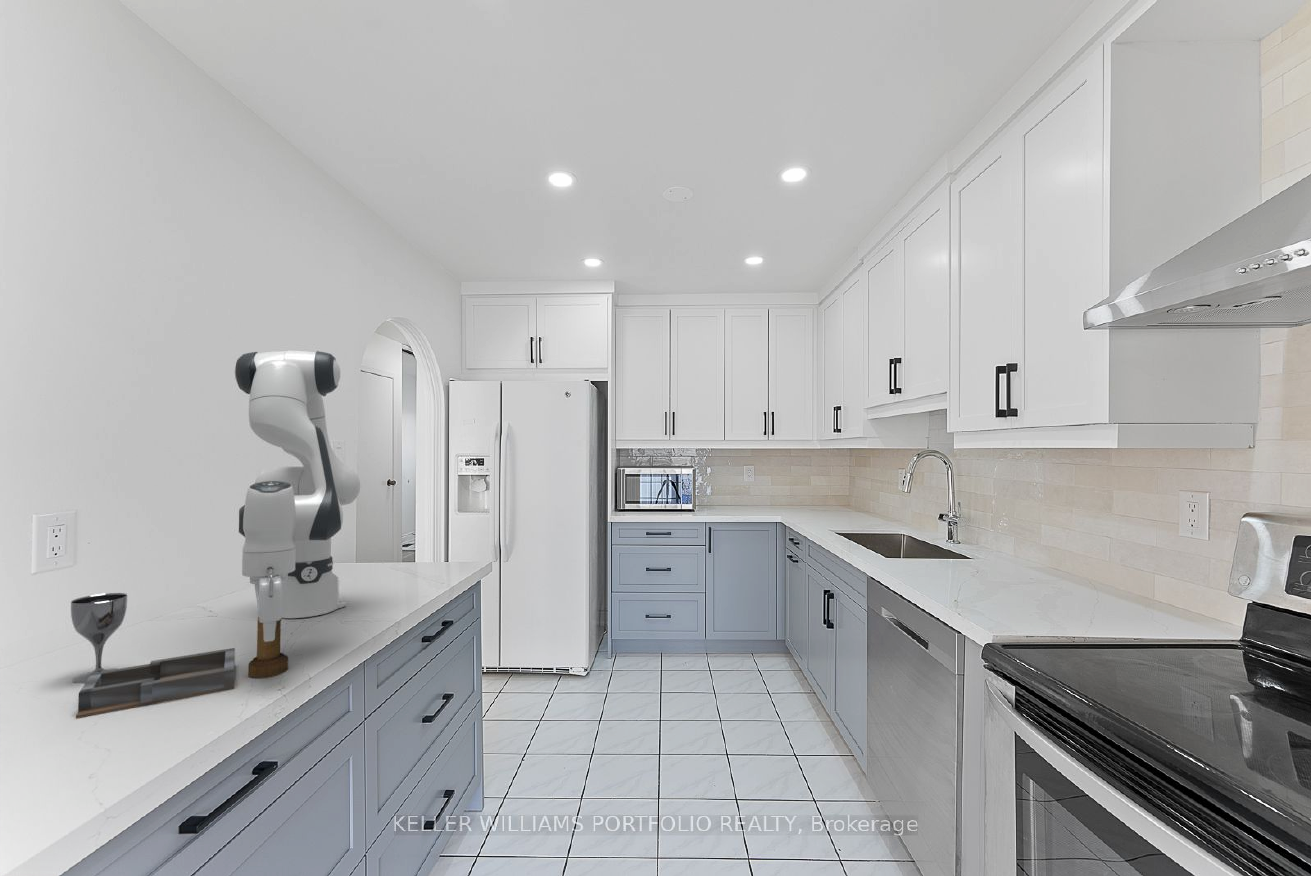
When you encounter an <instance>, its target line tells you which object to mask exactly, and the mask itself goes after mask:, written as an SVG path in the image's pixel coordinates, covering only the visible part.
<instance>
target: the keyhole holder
mask: <svg viewBox="0 0 1311 876" xmlns="http://www.w3.org/2000/svg"><path fill="white" fill-rule="evenodd" d="M235 654H236V647H232V648H231V647H230V648H226V649H220V650H213V651H205V652H199V653H192V654H187V655H182V656H181V655H180V656H174V657H167V658H162V659H154V660H151V661H150V663H147V664H146V663H145V664H141V665H134V666H126V667H122V668H118V669H114V670H108V671H102V672H95V673H91V675H90V677H89V678H88V680H87V681H86V683H83V684H84V685H82V686H81V687H82V688H81V689H80V690H79V692H78V700H77V701H78V706H77V707H78V708H77V709H78V711H77V713H76V715H75V719H80V718H85V717H91V716H96V715H102V714H107V713H108V714H109V713H111V712H112V713H113V712H117V711H122V710H123V711H124V710H127V709H133V708H138V707H143V706H149V705H153V704H158V703H165V702H170V701H175V700H180V699H187V698H191V697H195V696H196V695H197V696H201V695H206V694H207V695H208V694H212V693H216V692H221V691H222V690H223V691H227V690H232V689H234V688H235V667H236V666H235V665H236V664H235V663H236V662H235V660H236V658H235V657H236V655H235ZM197 696H196V697H197Z"/></svg>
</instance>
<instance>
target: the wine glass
mask: <svg viewBox="0 0 1311 876" xmlns="http://www.w3.org/2000/svg"><path fill="white" fill-rule="evenodd" d="M127 608H128V594H127V593H125V592H124V593H123V592H111V593H110V592H109V593H108V592H107V593H100V594H93V595H88V596H87V595H86V596H83V597H79V598H75V599H72V600H71V602H70V617H71V621H72V625H73V628H74V630H75V632H76V633H77V634H78V635H80V636H82V637H83V638H84V639H85V640H87V641H88V642H89V643H90V644H91V645H92V647H93V649H94V654H95V669H94V670H92V671H89V672H86V673H83V674H79V675H78V676H75V677H74V678H72V682H73V683H75V684H85V683H86V681H87V680H88V678H89V677H90V675H91V673H95V672H102V671H108V670H114V669H119V668H103V667H102V658H103V650H104V647H105V644H106V642H107V641H108V640H109V639H110V637H112V635H113V634H114V633H115V632H116V631H118V629H119V628H120V626H122V624H123V622H124V620H125V616H126V614H127Z"/></svg>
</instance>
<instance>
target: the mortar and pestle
mask: <svg viewBox="0 0 1311 876" xmlns="http://www.w3.org/2000/svg"><path fill="white" fill-rule="evenodd" d="M269 597H270V596H269ZM281 622H282V619H281V620H279V621H276V628H275V639H274V640H273V641H268V642H265V641H264V638H263V636H264V631H263V623H260V622H259V618H258V617H257V630H256V631H257V632H256V633H257V634H256V635H257V636H256V638H257V639H256V641H257V643H256V656H255V657H253V658H252V659H251V660H250V661H249V662H248V670H247V674H248V677H249V678H254V679H264V678H263V677H265V678H270V677H274V676H277V675H280V673H281V674H282V672H283V673H285V672H286V671H287V670H288V669H289V657H288V655H286V654H284V652H281V631H282V630H281V627H282V625H281V624H282V623H281ZM269 676H270V677H269ZM261 677H262V678H261Z"/></svg>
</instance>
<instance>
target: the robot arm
mask: <svg viewBox="0 0 1311 876" xmlns="http://www.w3.org/2000/svg"><path fill="white" fill-rule="evenodd" d="M234 378H235V380H236V384H237V385H238V388H239V389H240V390H241V391H242V392H244V393H245V394H247V395H249V399H248V400H249V401H248V421H249V427H250V429H251V430H252V432H253V433H254V434H255V435H256V436H257V437H258V438H260V439H261V440H262V441H264V442H266V443H268V444H270V445H272V446H275V447H278V448H281V449H282V450H283V451H284V452H285V453H287V454H289V455H290V456H293V457H295V458H296V459H297V460H298V461H299V462H300V463H301V465H302V466H280V467H279V466H278V467H273V468H269V469H264V470H262V471H261V473H259V474H258V476H257V477H256V479H255V481H254V483H253V484H251V485H249V487H248V488H247V492H246V495H245V496H246V497H245V502H244V504H243V505H242V506H241V507H240V508H239V511H238V533H239V534H240V535H241V536H243V537H244V544H243V546H242V560H241V561H242V562H241V564H242V565H241V567H242V570H241V574H242V576H244V577H248V578H249V584H252V585H254V591H255V598H256V606H257V607H256V608H257V619H258V618H259V622H260V623H263V631H264V636H263V638H264V641H265V642H268V641H273V640H274V639H275V628H276V621H279V620H281V621H282V619H300V618H310V617H315V616H316V617H317V616H319V615H325V614H328V613H331V612H334V611H335V610H338V609H340V608H344V607H346V606H347V603H346V601H345V600H342V599H341V598H340V588H339V587H340V584H339V582H340V581H339V576H337V575H336V574H335V573H334V572H333V571H332V570H334V569H333V567H334V566H333V565H334V561H333V557H332V537H334V536H335V535H337V534H338V533H339V531H340V530H342V526H343V522H344V513H343V508H342V506H346V505H350V504H352V503H353V502H354V501H355V500H356V499H357V498H358V496H359V495H360V491H361V481H360V478H359V476H358V474H357V473H356V472H355V471H354V470H353V469H351V468H349V467H348V466H347V465H345V464H344V463H343V462H342V461H341V460H340V459H339V457H338V456H337V455H336V454H335V452H334V451H333V450H334V449H333V448H332V446H331V444H330V440H329V435H328V429H327V422H326V421H327V419H326V411H325V405H324V404H325V403H324V400H323V397H326V396H327V394H331V393H332V392H334V391H335V390H336V389H337V388H338V386H339V383H340V380H341V368H340V366H339V364H338V362H337V359H336V357H335V356H333V354H331V353H328V352H324V351H318V350H317V351H316V352H314V351H306V350H291V349H289V350H284V351H283V350H281V351H280V350H278V351H277V350H276V351H267V352H266V351H265V352H258V351H253V352H248V353H243V354H242V355H241V356H239V358H237V359H236V362H235V367H234ZM269 596H270V597H269Z"/></svg>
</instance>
